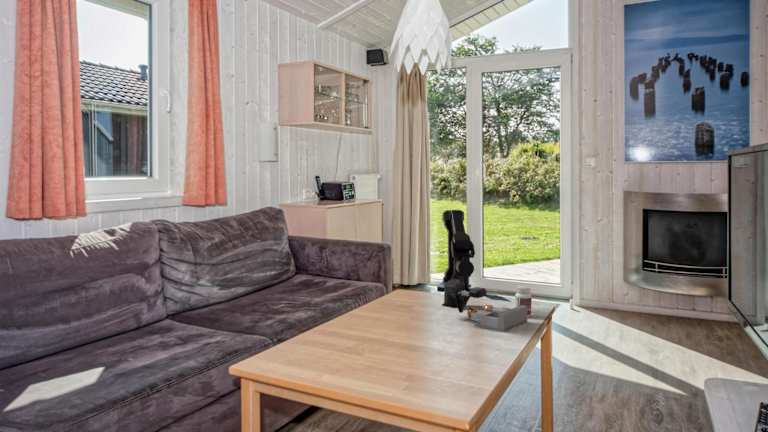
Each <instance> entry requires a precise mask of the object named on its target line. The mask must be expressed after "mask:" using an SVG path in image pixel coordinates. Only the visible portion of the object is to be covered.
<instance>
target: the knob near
mask: <svg viewBox="0 0 768 432" xmlns="http://www.w3.org/2000/svg"><path fill="white" fill-rule="evenodd" d="M480 315H485V316H490V317H493V313H492V312H487V311H484V310H482V309H481V310H480V309H477V308H476V307H469V308H468V310H467V317H468V318H469V319H471V321H475V322H480Z"/></svg>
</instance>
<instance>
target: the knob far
mask: <svg viewBox="0 0 768 432" xmlns="http://www.w3.org/2000/svg"><path fill="white" fill-rule="evenodd" d="M507 310H508V309H503V307H499V306H498V307H497V306H493V305H491V304H485V305H484V307H483V311H487V312H492V311H497V312H505V311H507Z"/></svg>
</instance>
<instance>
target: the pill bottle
mask: <svg viewBox="0 0 768 432" xmlns="http://www.w3.org/2000/svg"><path fill="white" fill-rule="evenodd" d="M530 292H531V286H528V285H516V293H515V294H514V296H515V298H514V308H515V307H518V306H521V305H523V306H527V318H530V317H531V316H532V299H533V298H532V294H531V293H530Z"/></svg>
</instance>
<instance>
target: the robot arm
mask: <svg viewBox="0 0 768 432" xmlns="http://www.w3.org/2000/svg"><path fill="white" fill-rule="evenodd" d="M441 215H442V216H441V219H442V222H443V226H444V228H445V229H446V231H447V268H446V269H445V271H444V273H443V276H442V277H443V278H442V281H441V283H440V282H439V283H438V285H437V286H436V291H437V292H440V293H444V295H443V296H444V298H443V299H444V300H443V302H444V303H442V304H441V306H445V307H450V308H457V309H458V312H459V313H463V312H464V310H465V308H466V306H467V304H468V302H469V300H470V298H475V299H480V298H484V297H487V290H486V288H483V287H478V286H477V287H474V288H473V287H472V285H471V284H470V277H472V274H473V273H474V272H475V266H474V264H473V262H472V261H471V259H473V258H475V255H476V251H475V245H474V243H473V241H472V240H471V238H470V237H471V236H470V235H469V234H467V233H466V229H465V225H464V221H465V211H463V210H461V209H450V210H448V209H446V210H445V211H443V213H442V214H441ZM471 287H472V288H471Z"/></svg>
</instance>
